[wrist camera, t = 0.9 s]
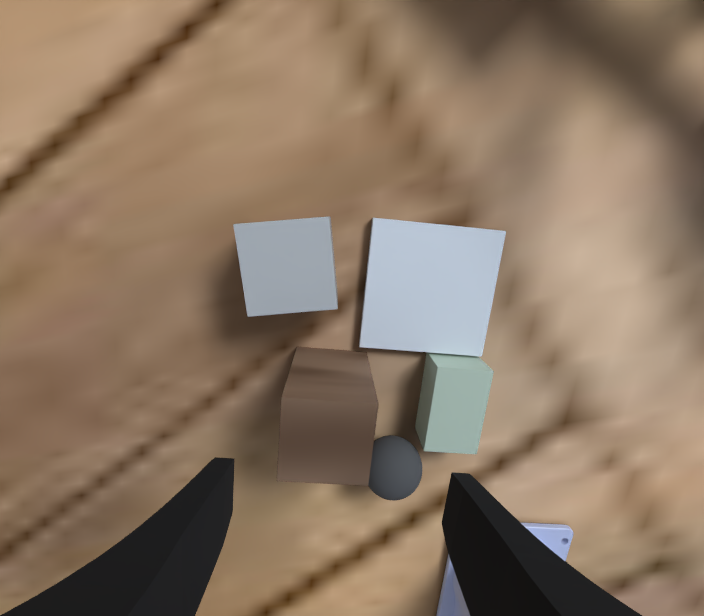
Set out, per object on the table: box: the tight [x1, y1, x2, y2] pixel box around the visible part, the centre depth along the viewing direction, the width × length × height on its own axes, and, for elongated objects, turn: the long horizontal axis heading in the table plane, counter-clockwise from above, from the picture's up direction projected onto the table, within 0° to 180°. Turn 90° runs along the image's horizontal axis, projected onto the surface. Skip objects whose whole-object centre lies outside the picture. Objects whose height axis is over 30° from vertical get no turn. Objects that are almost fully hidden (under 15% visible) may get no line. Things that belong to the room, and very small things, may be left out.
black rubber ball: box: [368, 435, 422, 500], centre depth 21 cm, size 3×3×3 cm
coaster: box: [359, 218, 506, 356], centre depth 20 cm, size 7×7×1 cm
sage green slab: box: [415, 352, 494, 454], centre depth 20 cm, size 5×3×2 cm, turn 174°
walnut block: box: [277, 347, 378, 486], centre depth 18 cm, size 4×4×6 cm
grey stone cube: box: [233, 217, 338, 317], centre depth 17 cm, size 4×4×4 cm
